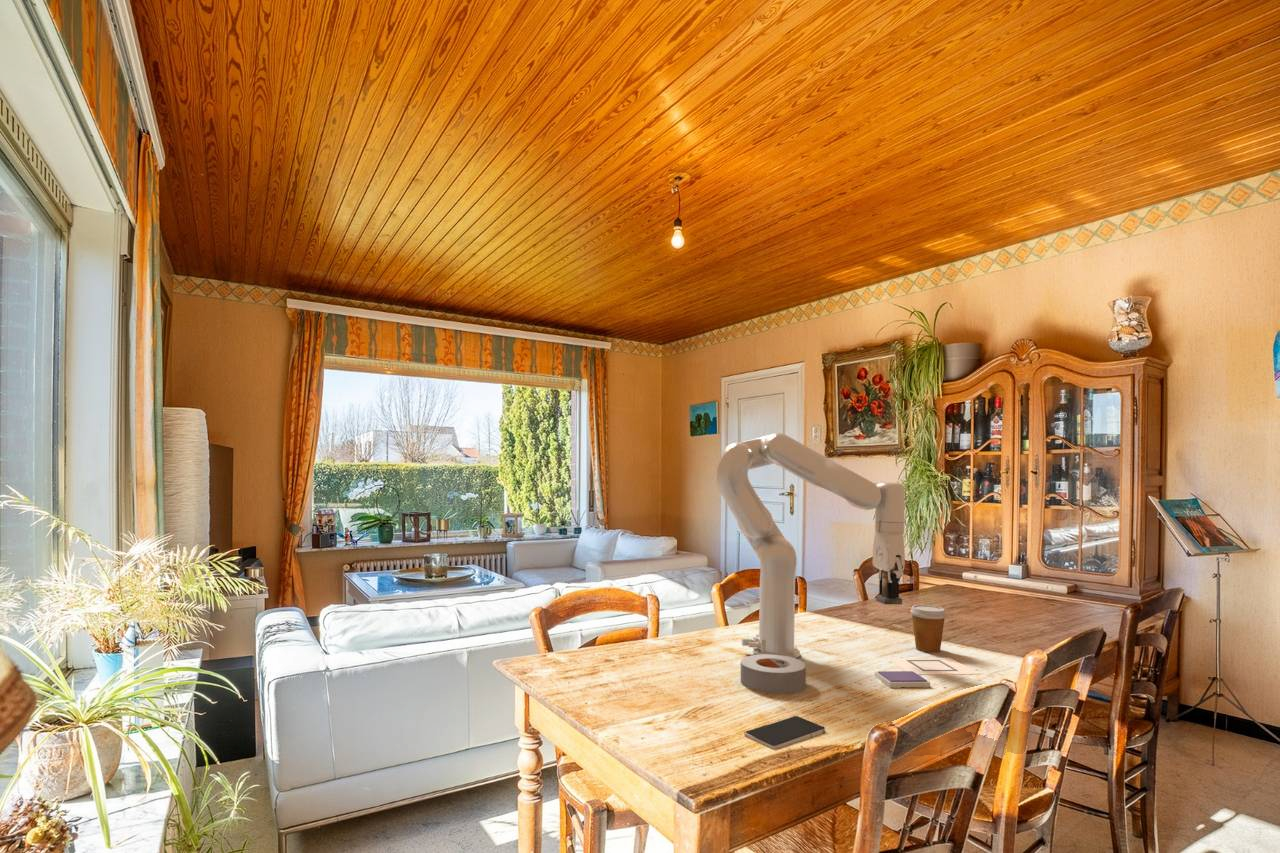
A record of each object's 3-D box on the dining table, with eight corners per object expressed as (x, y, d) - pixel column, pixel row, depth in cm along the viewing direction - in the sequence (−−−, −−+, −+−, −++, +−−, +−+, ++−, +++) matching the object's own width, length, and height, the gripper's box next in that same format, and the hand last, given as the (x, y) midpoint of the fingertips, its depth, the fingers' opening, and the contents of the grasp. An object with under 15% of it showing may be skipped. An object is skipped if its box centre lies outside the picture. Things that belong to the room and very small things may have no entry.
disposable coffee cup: (952, 655, 190) (952, 612, 191) (917, 654, 191) (917, 611, 191) (937, 646, 200) (938, 604, 201) (904, 645, 200) (905, 604, 201)
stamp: (884, 604, 184) (884, 570, 184) (876, 600, 189) (876, 567, 189) (902, 604, 185) (902, 570, 185) (893, 600, 190) (893, 567, 190)
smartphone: (743, 731, 132) (795, 715, 141) (742, 738, 132) (795, 721, 141) (774, 746, 126) (826, 727, 135) (774, 753, 126) (826, 734, 135)
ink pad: (889, 687, 162) (889, 681, 162) (874, 676, 170) (874, 670, 170) (930, 687, 163) (930, 681, 163) (913, 676, 171) (913, 670, 171)
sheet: (911, 675, 172) (911, 673, 172) (886, 659, 186) (886, 657, 186) (979, 674, 174) (979, 673, 174) (949, 658, 188) (949, 657, 188)
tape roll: (726, 681, 165) (727, 660, 165) (768, 670, 174) (768, 649, 175) (778, 700, 153) (778, 676, 153) (819, 686, 163) (819, 664, 163)
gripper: (863, 524, 195) (862, 589, 195) (890, 531, 179) (890, 602, 178) (888, 525, 196) (887, 590, 195) (918, 531, 180) (917, 602, 179)
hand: (888, 595), depth 187 cm, fingers closed on stamp, 3 cm apart
